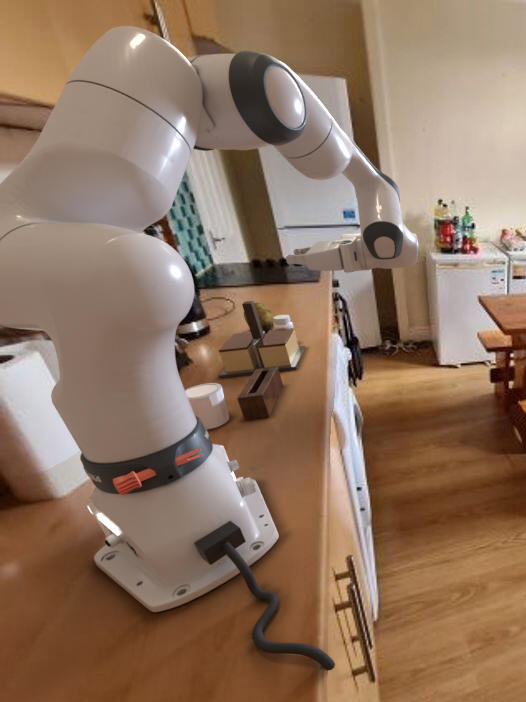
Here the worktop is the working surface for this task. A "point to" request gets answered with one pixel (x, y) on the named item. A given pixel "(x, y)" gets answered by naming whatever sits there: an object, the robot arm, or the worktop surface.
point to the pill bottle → (282, 322)
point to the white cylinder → (208, 404)
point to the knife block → (260, 393)
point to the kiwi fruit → (263, 317)
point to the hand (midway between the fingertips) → (290, 256)
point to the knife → (254, 327)
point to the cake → (274, 351)
